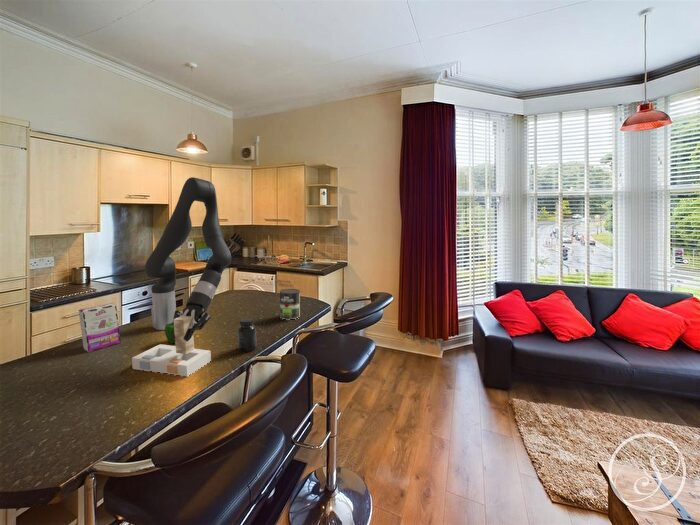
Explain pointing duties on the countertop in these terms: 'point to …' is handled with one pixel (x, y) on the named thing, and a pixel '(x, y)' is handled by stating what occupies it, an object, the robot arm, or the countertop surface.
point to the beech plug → (180, 330)
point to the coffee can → (289, 304)
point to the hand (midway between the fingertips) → (180, 339)
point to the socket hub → (171, 360)
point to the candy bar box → (99, 327)
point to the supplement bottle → (247, 335)
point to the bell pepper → (169, 332)
